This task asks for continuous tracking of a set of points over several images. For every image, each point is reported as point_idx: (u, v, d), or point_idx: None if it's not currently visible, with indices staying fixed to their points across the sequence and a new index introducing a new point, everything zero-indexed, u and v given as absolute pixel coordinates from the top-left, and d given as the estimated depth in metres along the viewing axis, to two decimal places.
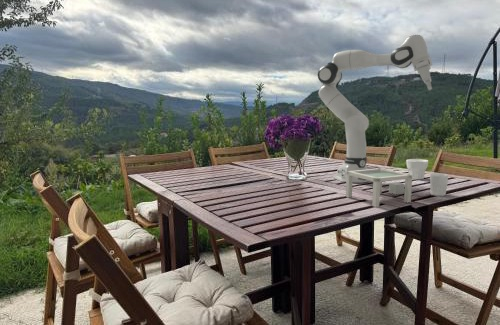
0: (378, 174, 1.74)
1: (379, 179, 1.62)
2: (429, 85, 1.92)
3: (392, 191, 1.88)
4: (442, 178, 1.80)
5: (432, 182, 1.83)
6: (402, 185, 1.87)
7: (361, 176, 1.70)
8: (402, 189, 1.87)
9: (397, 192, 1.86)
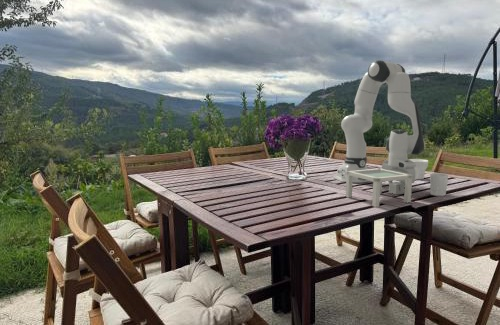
0: (378, 174, 1.74)
1: (379, 179, 1.62)
2: (403, 186, 1.85)
3: (392, 191, 1.88)
4: (442, 178, 1.80)
5: (432, 182, 1.83)
6: None
7: (361, 176, 1.70)
8: None
9: (397, 192, 1.86)
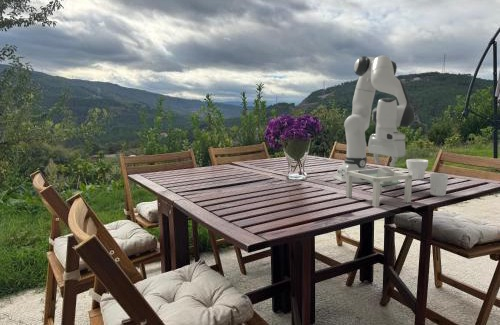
0: None
1: (379, 179, 1.62)
2: (394, 162, 1.65)
3: None
4: (442, 178, 1.80)
5: (432, 182, 1.83)
6: (392, 173, 1.68)
7: (361, 176, 1.70)
8: None
9: None
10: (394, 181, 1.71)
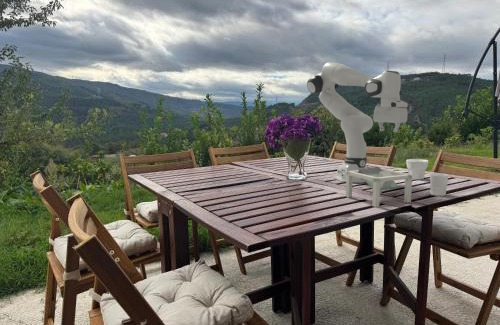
0: None
1: (379, 179, 1.62)
2: (397, 128, 1.83)
3: None
4: (442, 178, 1.80)
5: (432, 182, 1.83)
6: None
7: (361, 176, 1.70)
8: (390, 182, 1.70)
9: (384, 185, 1.69)
10: (393, 185, 1.72)
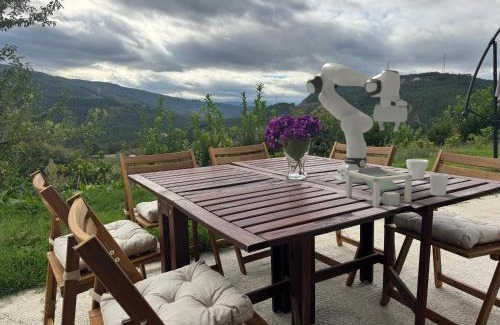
0: None
1: (379, 179, 1.62)
2: (397, 127, 1.83)
3: (384, 198, 1.68)
4: (442, 178, 1.80)
5: (432, 182, 1.83)
6: None
7: (361, 176, 1.70)
8: None
9: None
10: (392, 186, 1.73)
